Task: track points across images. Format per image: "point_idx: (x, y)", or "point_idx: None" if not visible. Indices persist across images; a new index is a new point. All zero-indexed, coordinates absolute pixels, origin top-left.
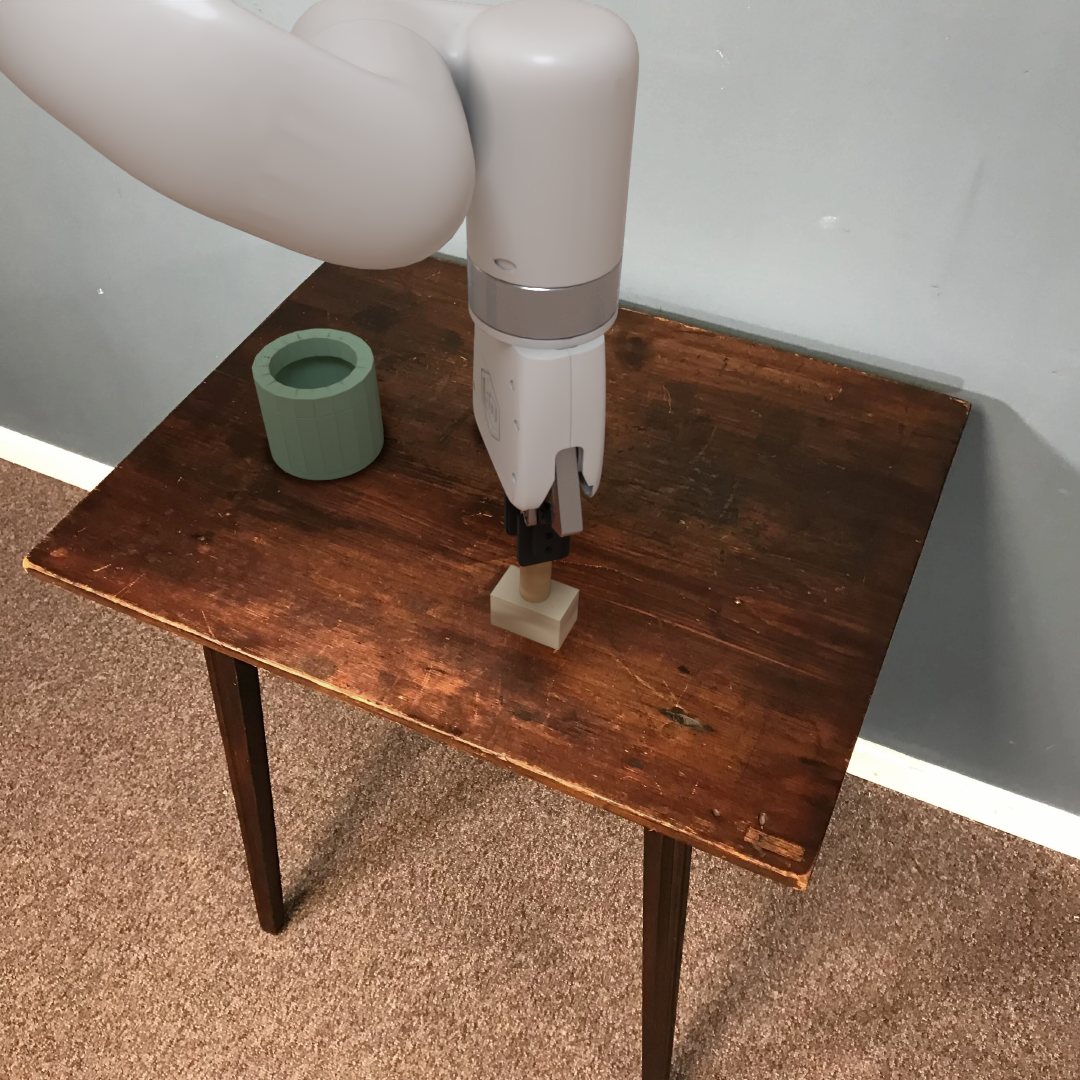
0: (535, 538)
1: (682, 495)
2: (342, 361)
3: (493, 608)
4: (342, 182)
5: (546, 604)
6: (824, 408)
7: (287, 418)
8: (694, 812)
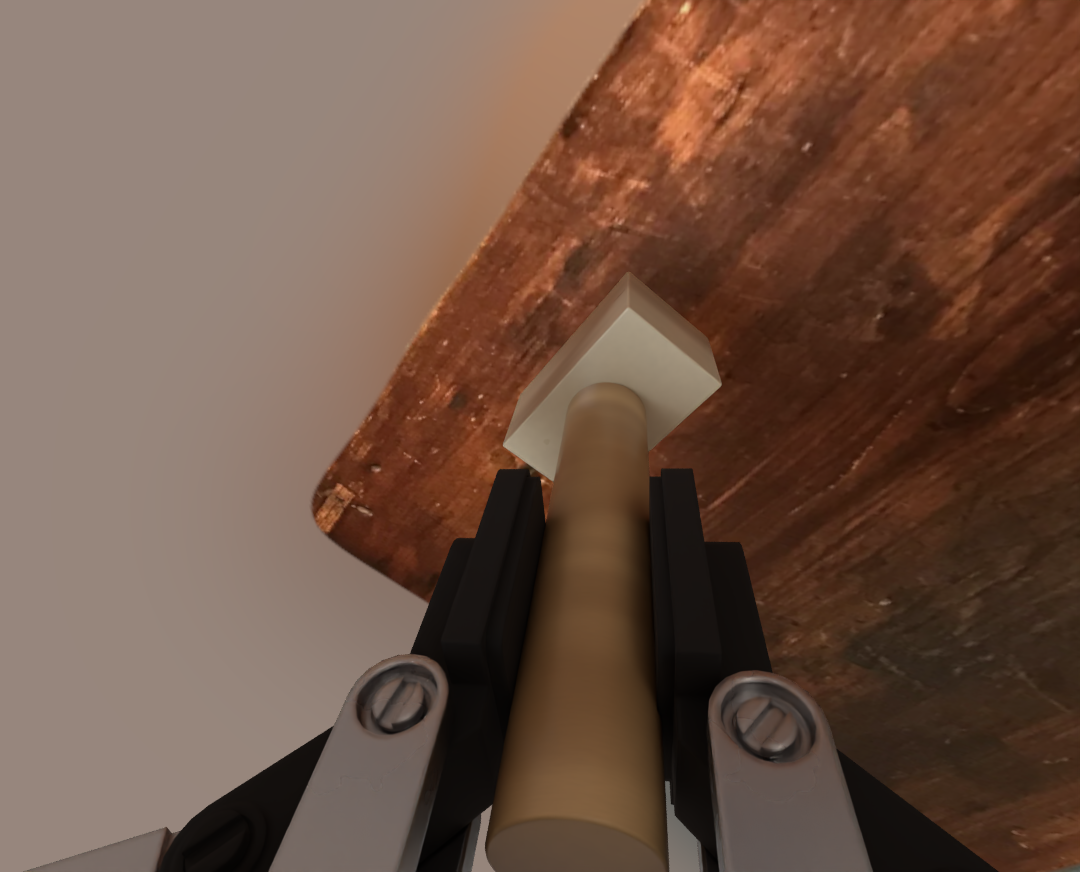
0: (427, 617)
1: (943, 622)
2: None
3: (623, 296)
4: None
5: (558, 431)
6: (1001, 819)
7: None
8: (377, 446)
